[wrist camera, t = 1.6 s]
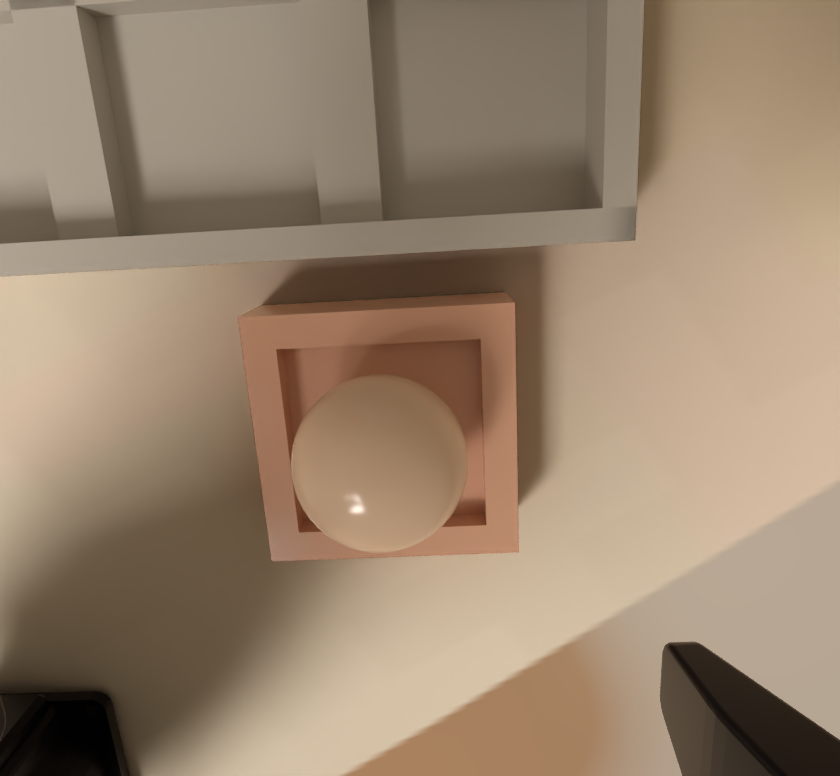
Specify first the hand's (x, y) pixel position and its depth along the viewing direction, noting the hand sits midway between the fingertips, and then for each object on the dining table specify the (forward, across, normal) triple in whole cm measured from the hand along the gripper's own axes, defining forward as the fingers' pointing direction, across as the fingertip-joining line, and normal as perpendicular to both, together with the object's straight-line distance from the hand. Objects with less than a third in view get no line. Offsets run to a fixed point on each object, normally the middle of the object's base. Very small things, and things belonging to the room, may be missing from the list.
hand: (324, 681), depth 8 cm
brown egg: (+10, 0, 0) cm, 10 cm away
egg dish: (+11, 0, 0) cm, 11 cm away
